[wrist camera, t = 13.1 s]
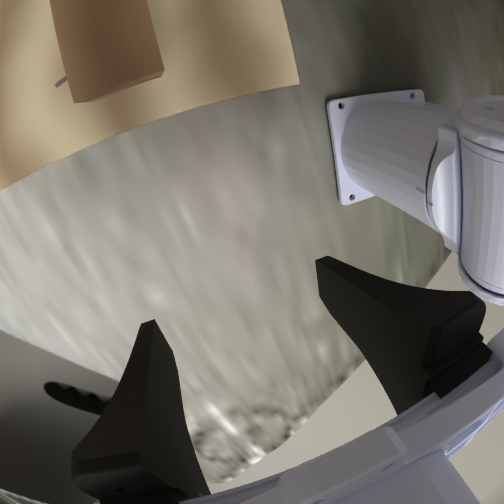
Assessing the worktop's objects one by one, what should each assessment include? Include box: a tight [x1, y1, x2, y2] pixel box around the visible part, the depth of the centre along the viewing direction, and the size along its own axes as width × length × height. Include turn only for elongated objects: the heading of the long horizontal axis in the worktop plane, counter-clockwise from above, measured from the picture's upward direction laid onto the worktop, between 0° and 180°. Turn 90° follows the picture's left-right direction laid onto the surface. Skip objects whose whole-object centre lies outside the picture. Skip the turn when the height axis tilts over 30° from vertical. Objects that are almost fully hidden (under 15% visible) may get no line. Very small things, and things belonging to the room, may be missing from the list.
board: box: [0, 0, 300, 191], centre depth 13 cm, size 20×13×1 cm, turn 102°
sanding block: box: [50, 0, 165, 103], centre depth 11 cm, size 4×8×5 cm, turn 12°
